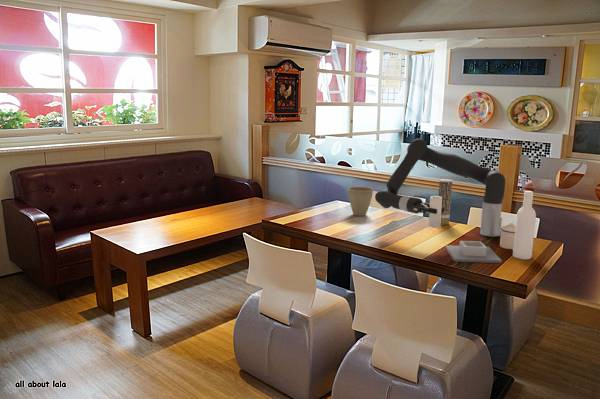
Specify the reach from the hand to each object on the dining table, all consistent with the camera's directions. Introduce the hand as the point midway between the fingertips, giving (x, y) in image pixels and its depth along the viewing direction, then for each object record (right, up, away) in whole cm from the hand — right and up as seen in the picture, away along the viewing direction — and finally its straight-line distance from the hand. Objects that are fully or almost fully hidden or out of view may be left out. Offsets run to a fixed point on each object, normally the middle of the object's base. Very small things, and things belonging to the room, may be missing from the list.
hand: (440, 210), depth 231 cm
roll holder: (+13, -20, -4) cm, 24 cm away
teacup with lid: (+36, -18, +10) cm, 42 cm away
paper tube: (+16, -9, +51) cm, 54 cm away
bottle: (+35, -21, -6) cm, 41 cm away
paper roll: (-2, -7, +3) cm, 8 cm away
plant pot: (-29, -4, +70) cm, 76 cm away
